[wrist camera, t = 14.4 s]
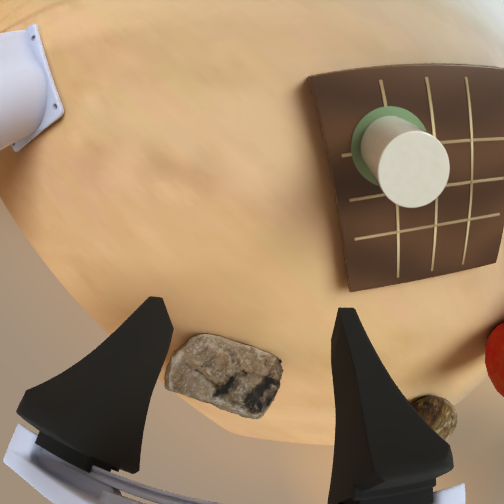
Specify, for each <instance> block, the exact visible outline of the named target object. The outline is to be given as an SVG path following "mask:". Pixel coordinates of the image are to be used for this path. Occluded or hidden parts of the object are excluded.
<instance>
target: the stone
mask: <svg viewBox="0 0 504 504" xmlns="http://www.w3.org/2000/svg"><path fill="white" fill-rule="evenodd" d="M281 362H282V361H281V360H279V358H278V357H276V356H275V355H273V354H270V353H267V352H264V351H262V350H260V349H257V348H255V347H253V346H249V345H244V344H241V343H238V342H235V341H231V340H228V339H226V338H224V337H220V336H216V335H210V334H205V333H204V334H200V335H197V336H194V337H191V338H190V339H189V340H187V342H186V343H184V344H183V345H182V346H180V347H179V348H178V349H176V350H175V351H174V352H173V354H172V356H171V358H170V362H169V363H168V365H167V367H166V371H165V377H164V379H165V388H166V389H167V390H169V391H173V392H176V393H180V394H183V395H186V396H188V397H190V398H194V399H197V400H199V401H202V402H206V403H211V404H213V405H214V406H216V407H218V408H219V409H222V410H226V411H228V412H231V413H234V414H238V415H240V416H242V417H245V418H251V419H259V418H261V417H262V416H263V415H264V413H265V412H266V411H267V410H268V408H269V407H270V405H271V403H272V402H273V401H274V398H275V396H276V393H277V391H278V389H279V388H280V379H281V376H282V372H283V369H282V366H281V364H280V363H281Z"/></svg>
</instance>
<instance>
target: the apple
mask: <svg viewBox="0 0 504 504" xmlns="http://www.w3.org/2000/svg"><path fill="white" fill-rule="evenodd" d="M485 364H486V368H487V372H488V375H489V377H490V379H491V381H492V383H493V385H494V386H495V388H496V390H497V391H498V392H499V393H500V394H501V395H502V396H503V397H504V322H503V323H501V324H500V325H498V326H497V327H496V328H495V329H494V330H493V332H492V333H491V334H490V335H489V337H488V338H487V342H486V347H485Z"/></svg>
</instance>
